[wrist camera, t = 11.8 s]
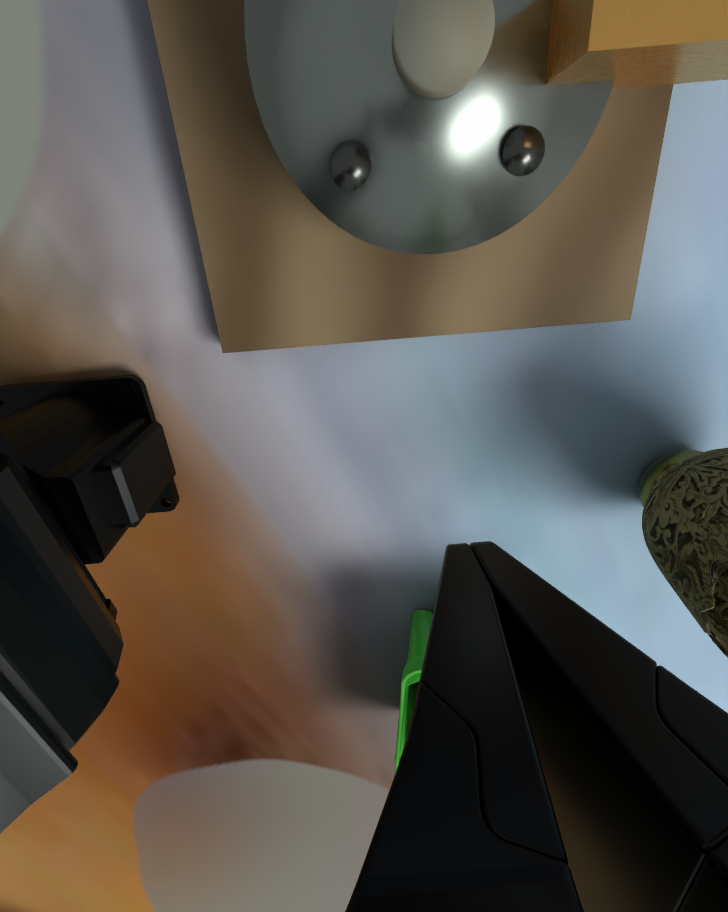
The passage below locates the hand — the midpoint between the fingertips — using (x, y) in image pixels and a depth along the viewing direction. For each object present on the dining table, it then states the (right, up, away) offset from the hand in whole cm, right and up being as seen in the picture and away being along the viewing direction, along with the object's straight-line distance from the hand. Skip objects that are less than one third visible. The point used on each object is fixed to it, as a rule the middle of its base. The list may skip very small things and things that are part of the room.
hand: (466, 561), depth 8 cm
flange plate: (+2, +13, +4) cm, 14 cm away
